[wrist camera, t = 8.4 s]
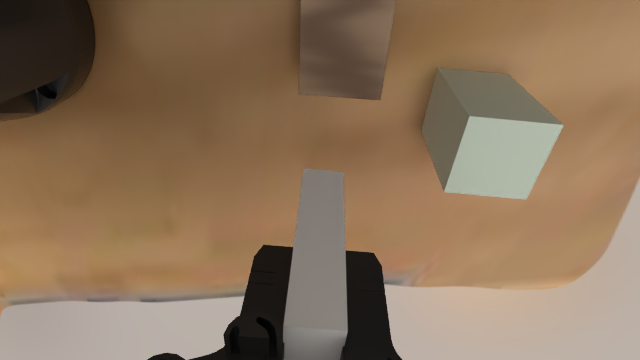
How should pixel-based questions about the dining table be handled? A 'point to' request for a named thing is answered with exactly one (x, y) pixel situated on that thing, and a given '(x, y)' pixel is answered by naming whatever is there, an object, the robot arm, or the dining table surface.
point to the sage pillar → (486, 134)
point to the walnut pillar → (344, 47)
